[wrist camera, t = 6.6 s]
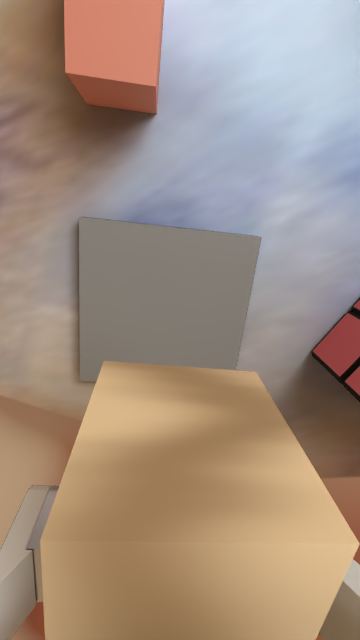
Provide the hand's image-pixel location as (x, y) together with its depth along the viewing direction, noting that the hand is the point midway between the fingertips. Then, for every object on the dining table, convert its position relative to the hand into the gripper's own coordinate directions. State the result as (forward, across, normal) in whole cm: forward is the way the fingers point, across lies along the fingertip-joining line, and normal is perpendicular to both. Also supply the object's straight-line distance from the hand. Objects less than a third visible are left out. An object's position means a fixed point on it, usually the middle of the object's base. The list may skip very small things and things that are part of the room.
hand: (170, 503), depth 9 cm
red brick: (+18, +4, -17) cm, 25 cm away
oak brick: (+2, 0, 0) cm, 2 cm away
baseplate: (+17, 0, 0) cm, 17 cm away
